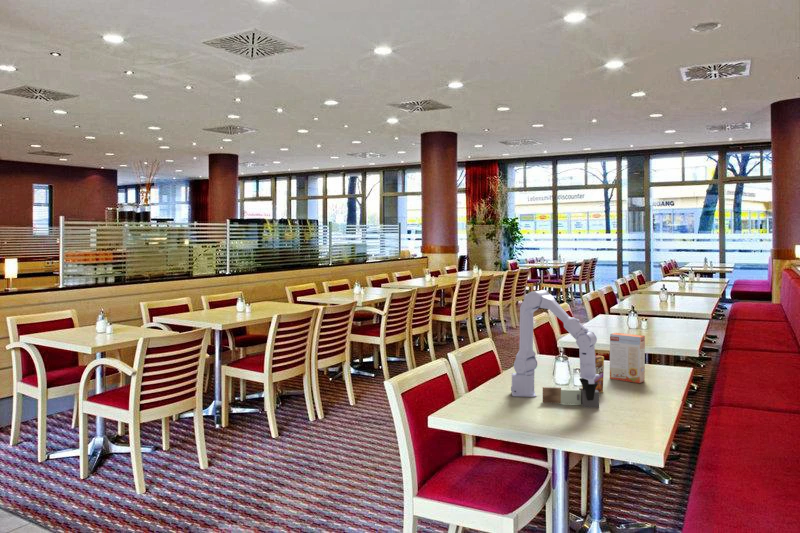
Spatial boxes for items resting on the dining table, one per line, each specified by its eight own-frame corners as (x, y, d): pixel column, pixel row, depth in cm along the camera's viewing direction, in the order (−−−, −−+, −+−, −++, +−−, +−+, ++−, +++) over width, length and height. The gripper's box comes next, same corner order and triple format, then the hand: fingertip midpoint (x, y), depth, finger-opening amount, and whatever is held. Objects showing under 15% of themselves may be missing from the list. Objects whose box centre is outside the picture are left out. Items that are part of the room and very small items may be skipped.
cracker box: (645, 381, 271) (645, 335, 270) (639, 384, 267) (640, 337, 266) (614, 376, 281) (615, 331, 280) (609, 378, 277) (609, 333, 276)
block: (582, 407, 232) (583, 392, 232) (581, 404, 236) (581, 389, 236) (599, 407, 231) (599, 392, 231) (597, 404, 235) (597, 389, 235)
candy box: (589, 395, 249) (590, 358, 248) (581, 393, 252) (581, 357, 251) (604, 392, 254) (604, 356, 253) (595, 390, 257) (595, 354, 256)
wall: (542, 402, 239) (542, 387, 238) (542, 401, 240) (542, 387, 239) (584, 404, 236) (584, 388, 236) (584, 403, 238) (584, 388, 237)
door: (561, 404, 235) (561, 390, 234) (560, 403, 237) (560, 389, 236) (581, 405, 234) (581, 391, 233) (580, 403, 236) (580, 389, 235)
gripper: (602, 367, 225) (603, 403, 226) (594, 359, 240) (596, 393, 240) (582, 367, 226) (584, 403, 227) (576, 360, 241) (578, 394, 241)
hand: (589, 398), depth 233 cm, fingers open, 4 cm apart
